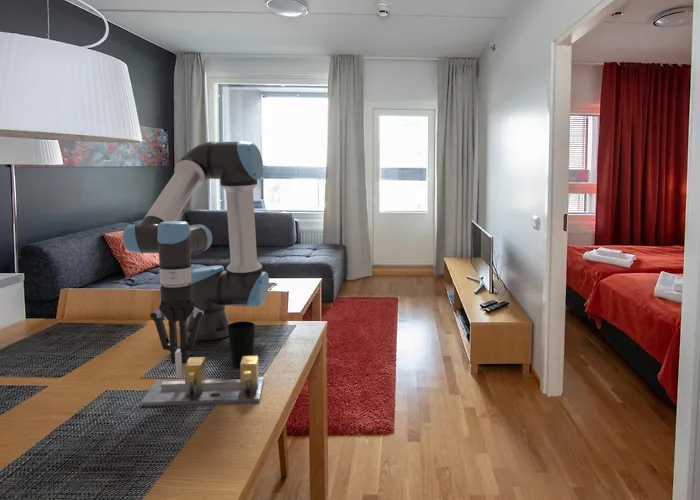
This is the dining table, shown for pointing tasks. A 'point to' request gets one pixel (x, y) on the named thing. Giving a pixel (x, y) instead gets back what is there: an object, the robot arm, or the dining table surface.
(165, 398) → the bolt plate
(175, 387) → the trammel bar
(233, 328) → the cup
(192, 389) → the block
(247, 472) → the dining table surface
